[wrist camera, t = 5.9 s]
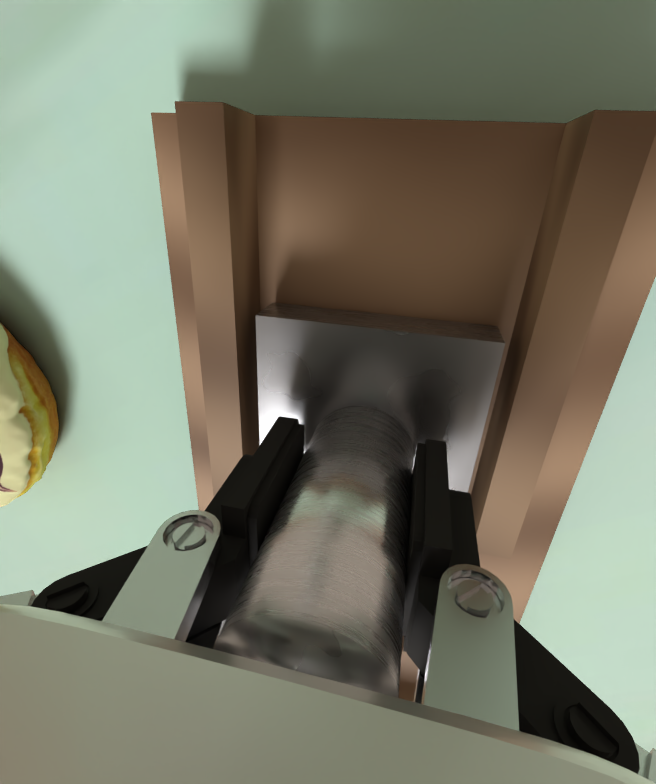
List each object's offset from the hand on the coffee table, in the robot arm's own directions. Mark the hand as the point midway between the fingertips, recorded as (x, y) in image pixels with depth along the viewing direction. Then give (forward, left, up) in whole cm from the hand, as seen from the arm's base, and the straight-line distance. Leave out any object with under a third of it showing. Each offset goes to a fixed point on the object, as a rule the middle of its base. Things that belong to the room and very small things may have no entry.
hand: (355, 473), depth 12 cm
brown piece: (+3, 0, -4) cm, 5 cm away
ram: (+2, 0, -3) cm, 3 cm away
